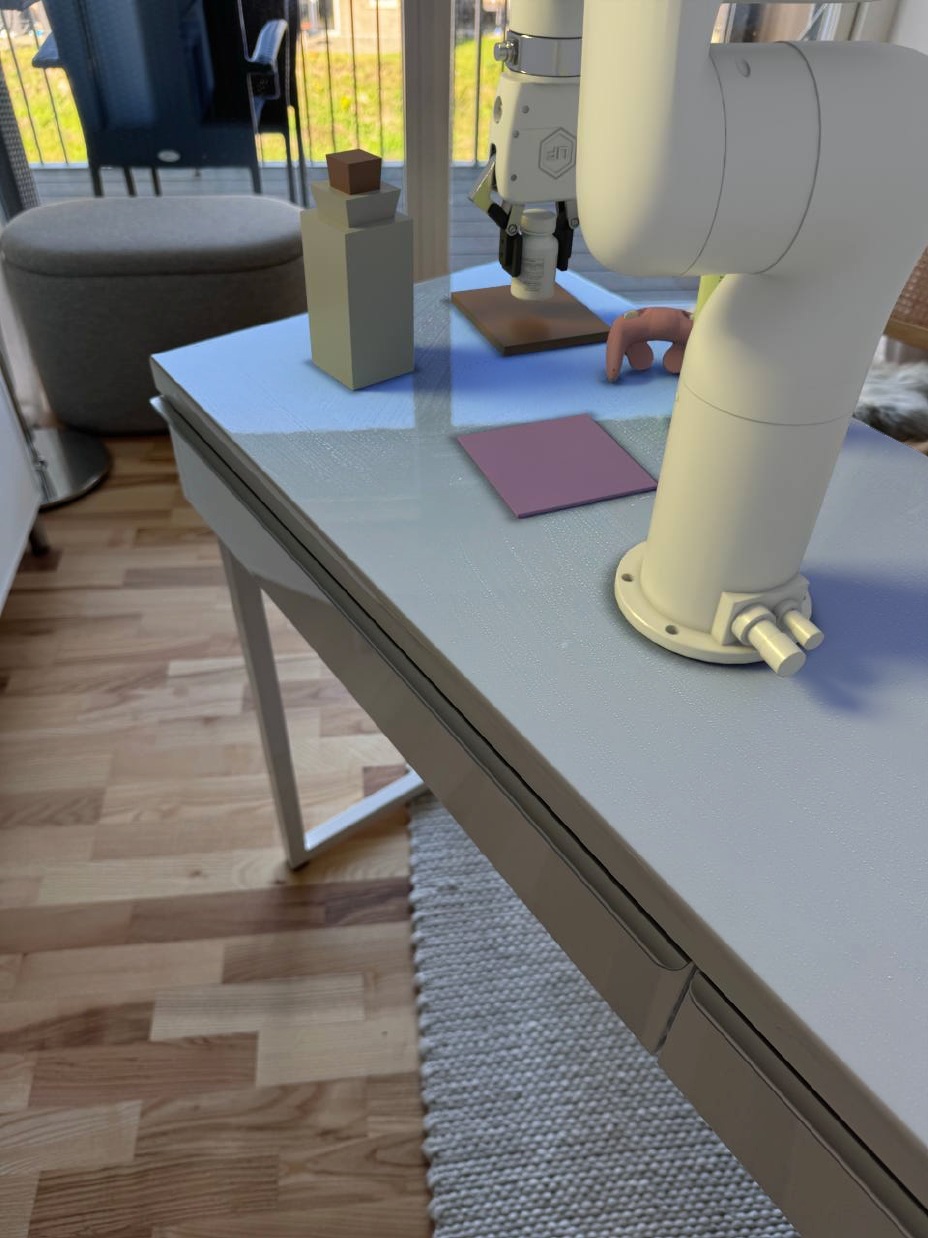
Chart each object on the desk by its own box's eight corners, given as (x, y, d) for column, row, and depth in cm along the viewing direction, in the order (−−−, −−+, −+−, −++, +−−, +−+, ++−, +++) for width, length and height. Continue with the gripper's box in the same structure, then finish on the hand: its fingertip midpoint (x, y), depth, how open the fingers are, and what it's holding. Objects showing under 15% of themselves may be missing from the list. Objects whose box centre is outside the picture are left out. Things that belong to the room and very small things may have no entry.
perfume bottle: (353, 390, 81) (341, 172, 70) (312, 362, 85) (294, 152, 73) (414, 370, 85) (412, 159, 73) (372, 344, 89) (364, 140, 77)
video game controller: (705, 389, 87) (715, 312, 85) (714, 389, 83) (725, 307, 81) (600, 381, 87) (608, 304, 86) (604, 381, 83) (613, 300, 81)
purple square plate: (658, 488, 71) (659, 484, 71) (517, 517, 67) (517, 514, 67) (586, 416, 79) (586, 413, 79) (457, 439, 76) (457, 436, 75)
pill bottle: (532, 282, 95) (539, 203, 90) (562, 296, 92) (570, 215, 87) (501, 292, 93) (505, 212, 87) (531, 306, 90) (537, 224, 85)
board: (614, 339, 91) (615, 330, 91) (504, 356, 88) (504, 346, 87) (552, 288, 101) (552, 279, 100) (450, 301, 97) (450, 291, 97)
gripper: (477, 69, 74) (469, 293, 86) (658, 60, 79) (627, 273, 91) (443, 51, 79) (440, 265, 91) (615, 44, 84) (591, 248, 96)
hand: (534, 267), depth 91 cm, fingers closed on pill bottle, 4 cm apart
